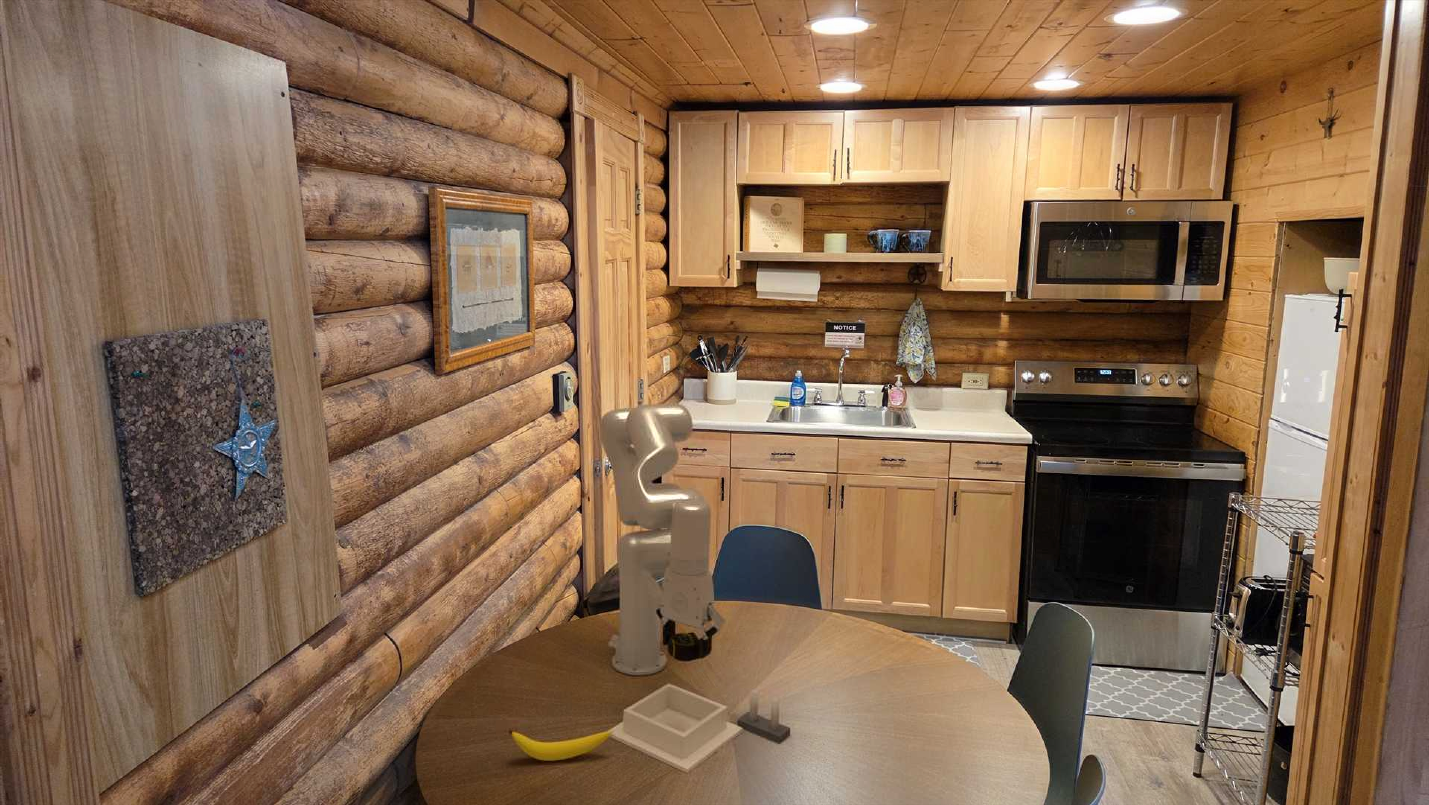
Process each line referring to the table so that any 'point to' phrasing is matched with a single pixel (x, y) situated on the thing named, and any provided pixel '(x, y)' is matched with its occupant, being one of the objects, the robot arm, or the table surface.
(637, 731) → the white square tray
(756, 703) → the peg board plate
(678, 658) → the tape measure
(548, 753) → the banana
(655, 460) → the robot arm
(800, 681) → the table surface
